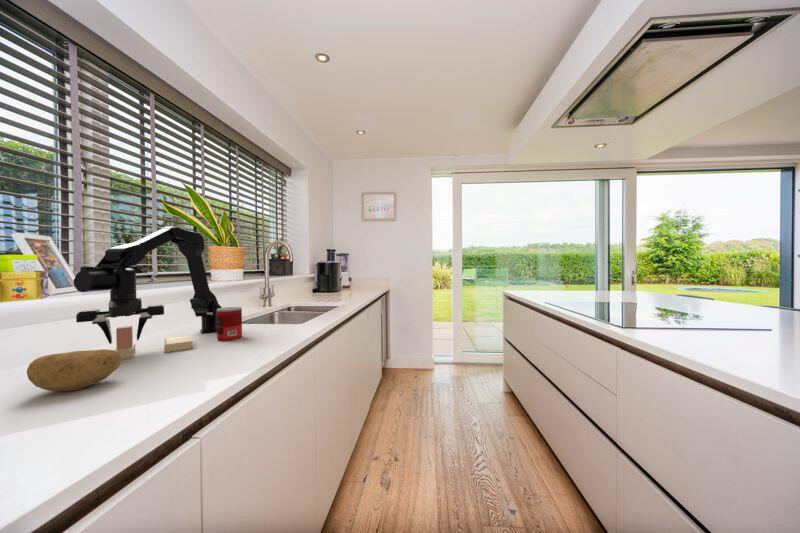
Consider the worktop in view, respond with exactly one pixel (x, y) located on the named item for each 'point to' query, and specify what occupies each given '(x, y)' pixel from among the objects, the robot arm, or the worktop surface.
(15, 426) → the worktop surface
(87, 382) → the potato
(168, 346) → the hinged cream panel
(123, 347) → the stub
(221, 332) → the canned food
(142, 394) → the worktop surface
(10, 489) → the worktop surface
